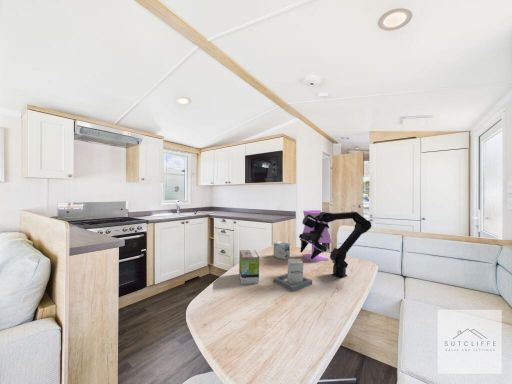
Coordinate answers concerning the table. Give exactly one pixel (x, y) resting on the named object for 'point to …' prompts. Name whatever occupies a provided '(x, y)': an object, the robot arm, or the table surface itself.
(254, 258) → the tea box
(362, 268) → the table surface
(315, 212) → the vase
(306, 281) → the holder frame
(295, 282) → the supplement box
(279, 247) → the light bulb box
